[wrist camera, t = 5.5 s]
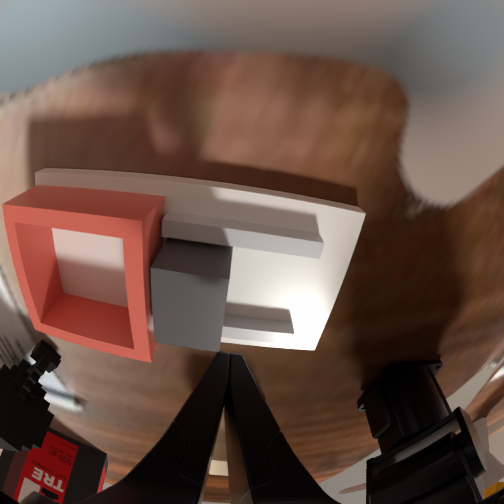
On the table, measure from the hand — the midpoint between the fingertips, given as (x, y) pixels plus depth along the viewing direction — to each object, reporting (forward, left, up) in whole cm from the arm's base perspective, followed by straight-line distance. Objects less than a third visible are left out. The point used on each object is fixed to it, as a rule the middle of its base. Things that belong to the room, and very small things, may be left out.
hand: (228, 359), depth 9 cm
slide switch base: (+3, 0, -6) cm, 7 cm away
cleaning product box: (+25, +40, -7) cm, 48 cm away
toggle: (+2, 0, -5) cm, 6 cm away
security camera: (+21, +17, -7) cm, 28 cm away
